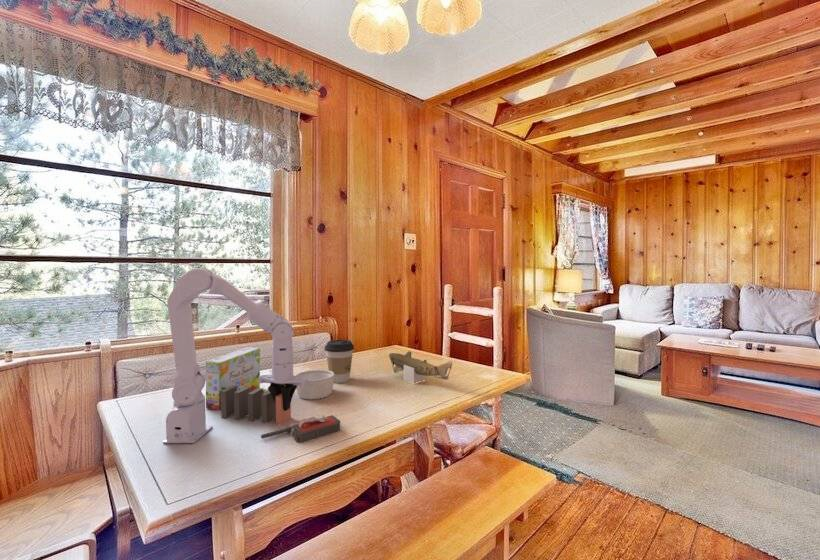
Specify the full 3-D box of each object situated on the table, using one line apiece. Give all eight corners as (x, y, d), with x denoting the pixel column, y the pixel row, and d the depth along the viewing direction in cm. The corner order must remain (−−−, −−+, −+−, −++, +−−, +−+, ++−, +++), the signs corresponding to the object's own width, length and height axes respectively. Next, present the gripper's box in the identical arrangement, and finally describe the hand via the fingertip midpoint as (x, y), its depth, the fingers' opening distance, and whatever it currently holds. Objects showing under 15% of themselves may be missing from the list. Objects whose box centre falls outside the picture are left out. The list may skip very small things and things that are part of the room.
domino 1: (237, 411, 116) (237, 386, 115) (226, 418, 111) (225, 391, 110) (233, 411, 116) (232, 385, 116) (221, 417, 111) (220, 391, 111)
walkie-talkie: (331, 421, 110) (259, 440, 98) (331, 406, 110) (259, 423, 98) (345, 431, 103) (270, 453, 91) (345, 415, 103) (270, 435, 91)
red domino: (290, 417, 111) (290, 390, 111) (281, 424, 107) (280, 396, 106) (286, 417, 112) (285, 390, 111) (276, 424, 107) (275, 396, 107)
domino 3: (263, 414, 114) (263, 388, 113) (253, 421, 109) (252, 394, 108) (259, 414, 114) (258, 388, 114) (248, 421, 109) (247, 393, 109)
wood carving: (442, 397, 128) (442, 364, 128) (381, 373, 155) (381, 346, 155) (460, 391, 134) (460, 360, 133) (399, 369, 161) (399, 343, 160)
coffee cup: (349, 386, 140) (349, 345, 139) (319, 384, 142) (319, 344, 141) (358, 376, 151) (358, 339, 150) (330, 375, 153) (330, 338, 152)
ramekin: (313, 386, 140) (313, 367, 140) (342, 391, 134) (342, 372, 134) (286, 397, 128) (286, 376, 128) (316, 404, 122) (316, 382, 122)
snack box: (221, 410, 117) (219, 362, 116) (205, 409, 118) (203, 361, 117) (261, 388, 138) (260, 347, 137) (247, 387, 139) (246, 346, 138)
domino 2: (250, 413, 115) (250, 387, 114) (239, 420, 110) (238, 392, 109) (246, 412, 115) (245, 386, 115) (234, 419, 110) (234, 392, 110)
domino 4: (277, 416, 112) (276, 389, 112) (266, 423, 108) (266, 395, 107) (272, 415, 113) (271, 389, 112) (261, 422, 108) (261, 395, 108)
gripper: (312, 360, 110) (313, 406, 111) (268, 357, 114) (269, 401, 115) (299, 366, 104) (300, 415, 104) (253, 363, 107) (254, 410, 108)
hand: (283, 409), depth 109 cm, fingers closed on red domino, 2 cm apart
